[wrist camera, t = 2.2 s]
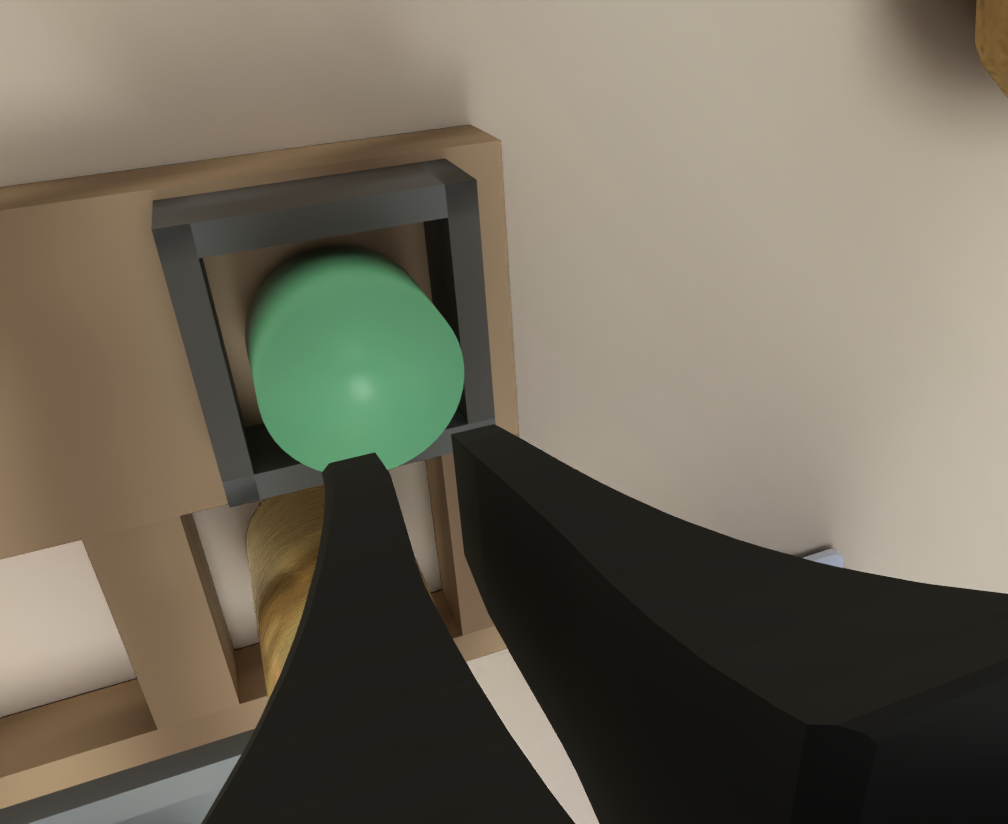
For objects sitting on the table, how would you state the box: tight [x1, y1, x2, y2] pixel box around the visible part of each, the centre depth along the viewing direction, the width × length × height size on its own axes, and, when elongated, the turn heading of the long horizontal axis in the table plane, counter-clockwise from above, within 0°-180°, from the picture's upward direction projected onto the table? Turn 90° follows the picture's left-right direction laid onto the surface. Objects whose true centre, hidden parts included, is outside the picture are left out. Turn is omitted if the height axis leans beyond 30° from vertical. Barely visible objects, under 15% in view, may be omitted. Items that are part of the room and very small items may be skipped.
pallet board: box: [0, 125, 519, 809], centre depth 18 cm, size 18×14×4 cm
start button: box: [245, 245, 464, 472], centre depth 15 cm, size 4×4×2 cm
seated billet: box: [246, 484, 435, 700], centre depth 19 cm, size 4×4×7 cm
